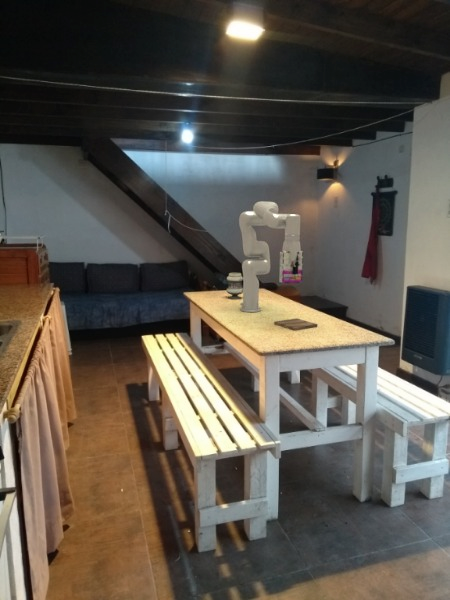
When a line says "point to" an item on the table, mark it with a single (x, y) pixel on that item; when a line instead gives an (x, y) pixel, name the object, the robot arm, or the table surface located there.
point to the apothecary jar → (235, 285)
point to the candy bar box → (289, 269)
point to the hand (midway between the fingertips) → (290, 273)
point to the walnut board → (295, 324)
